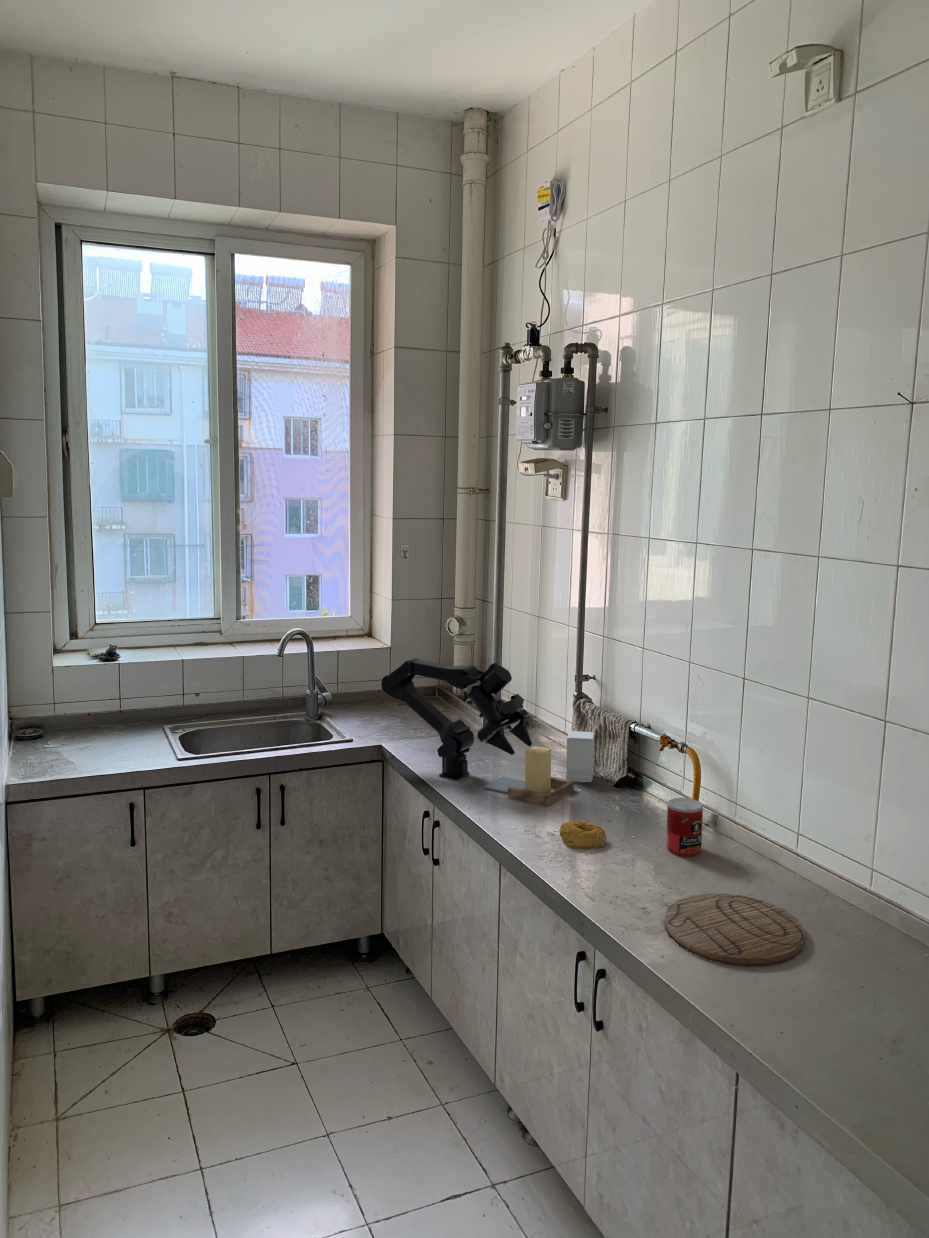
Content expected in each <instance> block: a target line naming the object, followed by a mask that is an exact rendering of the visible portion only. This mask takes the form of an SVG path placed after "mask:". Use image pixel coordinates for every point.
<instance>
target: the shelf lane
mask: <svg viewBox="0 0 929 1238" xmlns="http://www.w3.org/2000/svg"><path fill="white" fill-rule="evenodd" d="M551 789H554V790H553V791H551V792H550V793H549V794H542V793H538V792H533V791H528V790H523V789H519V788H514V787H510V788H508V794H507V798H509V799H513V800H518V801H521V802H522V801H523V802H527V803H532V804H536V805H540V806H546V807H549V806H552V804H554V803H555V802H557V801H559V800H561V799H562V798H564V797H565V796H567V795H568V794H570V793H572V792H574V789H575V782H574V781H570V780H566V778H565V779H564V778H558V777H554V776H551ZM571 791H572V792H571Z"/></svg>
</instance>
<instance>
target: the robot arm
mask: <svg viewBox="0 0 929 1238" xmlns="http://www.w3.org/2000/svg"><path fill="white" fill-rule="evenodd" d="M416 676H420V677H425V678H428V679H434V680H440V681H444V682H446V683H447V684H448V685H450V686H451V687H454V688H457V689H458V690H465V691H463V697H462V702H463V703H466V702H468V701H471V702H472V703H473V705H474V707H475V708H477V710H478V711H479V712H480V714H478V716H479V718H480V719H482V718H484V719H485V720H486V722H487V723H485V724H484V725H483V726H482V727H481V729H479V730H478V732H477V733H476V734H477V739H478V740H479V742H480V743H485V744H488V745H491V746H493V747H495V748H498V749H499V750H501V751H503V752H505V753H506V754H509V755H511V756H513V755H515V753H516V752H515V750H514V748H513V747H512V744H511V743H510V742H509V740H508V738H507V737H506V736H505V728H507V729H509V732H510V733H511V734H512V735H514V736H515V737H516V738H517V739H519V741H521V742H522V743H524V744H525V745H526V746H528V747H531V746H532V745H533V741H532V740H531V736H530V734H529V732H528V731H529V730H528V729H527V721H528V720H529V714H530V713H528V711H527V710H526V709H525V708H524V705H523V704H524V702H525V699H524V698H523V697H522V696H521V695H520V694H519V693H516V694H514V695H511V696H510V700H507V701H504V700H503V699H501V698H500V699H497V698H496V697H495V695H498V694H499V693H500V692H501V691H502V690H503V689H504V688H505V687H507V685H508V684H510V682H512V679H513V678H512V675H511V672H510V671H509V670H508V669H507V668H505V667H504V666H502V665H499V664H498V663H497V662H493V663H491V664H490V665H489V666H488V668H487V669H486V670H485V671H484V670H481V669H478V668H477V666H476V665H473V664H464V665H463V664H460V665H447V664H442V663H436V662H432V661H427V660H421V659H419V658H412V659H408V660H407V659H406V660H405V661H404V662H403V663H402V664H401V665H400V666H399V667H397V668H395V670H393V671H392V672H390V673H389V674H387V675H384V676H383V677H382V679H381V690H382V691H383V693H384V695H385V694H386V696H388V697H390V698H392V699H394V700H397V701H400V702H403V703H405V705H406V706H408V707H409V708H410V709H411V710H412V711H413V712H415V713H416V714H417V715H418V717H420V718H421V719H422V720H424V722H426V723H427V724H428V725H429V726H430V727H431V728H432V729H433V730H434V731H435V732H437V733H438V736H439V739H440V742H441V743H442V744H441V745H440V746H439V747H438V748H437V749H436V750H437V753H438V757H439V758H441V773H439V774H438V776H439V777H442V778H445V779H450V780H457V781H458V780H460V779H462V778H464V777H467V776H468V775H470V771H468V767H469V766H468V760H467V754H466V753H469V752H470V749H471V747H473V746H474V743H475V734H474V732H473V731H472V730H471V727H470V726H468V725H467V724H466V723H465V722H464V721H463V720H462V719H458V720H455V721H453V720H450V719H449V718H448V717H447V716H446V715H445V714H443V712H441V710H439V709H438V708H437V707H436V706H434V705H433V704H432V703H431V702H430V701H429V700H428V699H427V698H425V696H423V695H422V694H421V693H419V691H418V690H416V686H415V683H414V681H413V680H414V679H415V678H416ZM477 684H478V685H477ZM470 687H471V688H470ZM468 688H470V690H466V689H468Z"/></svg>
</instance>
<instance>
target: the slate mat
mask: <svg viewBox="0 0 929 1238" xmlns="http://www.w3.org/2000/svg"><path fill="white" fill-rule="evenodd" d="M510 787H514V788H519V789H523V790H525V780H521V779H517V778H516V779H515V778H511V777H506V776H501V777H500V778H498V779H496V780H494V781H492V782H490V783H488V784H486V785H484V786H483V790H487V791H491V792H497V793H501V794H507V795H508V788H510Z"/></svg>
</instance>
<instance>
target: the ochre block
mask: <svg viewBox="0 0 929 1238" xmlns="http://www.w3.org/2000/svg"><path fill="white" fill-rule="evenodd" d="M524 752H525V754H524V755H525V759H524V760H525V761H524V763H525V764H524V765H525V766H524V768H525V769H524V781H525V790H528V791H533V792H538V793H542V794H547V795H548V794H549V793H551V792H552V791H551V790H552V788H551V777H552V749H551V748H547V747H543V746H542V747H541V746H536V745H534V746H532V747H530V748H527V749H525V751H524Z"/></svg>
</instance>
